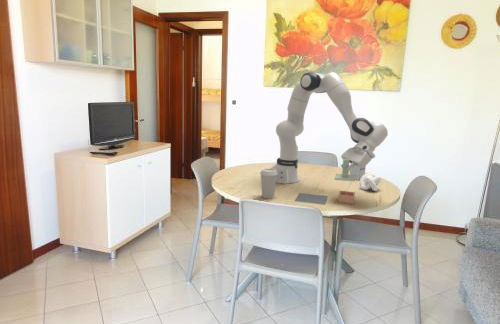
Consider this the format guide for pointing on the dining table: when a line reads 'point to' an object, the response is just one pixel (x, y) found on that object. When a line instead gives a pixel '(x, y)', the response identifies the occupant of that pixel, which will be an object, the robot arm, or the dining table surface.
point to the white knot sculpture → (369, 182)
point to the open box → (346, 197)
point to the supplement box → (357, 172)
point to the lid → (345, 173)
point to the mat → (311, 198)
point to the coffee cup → (268, 182)
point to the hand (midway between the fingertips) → (344, 168)
